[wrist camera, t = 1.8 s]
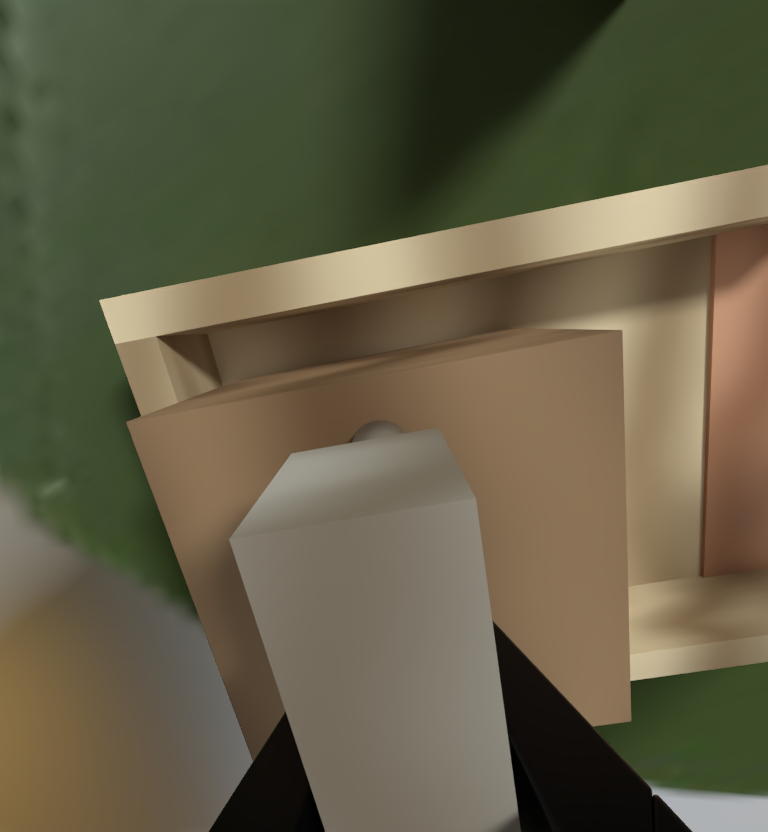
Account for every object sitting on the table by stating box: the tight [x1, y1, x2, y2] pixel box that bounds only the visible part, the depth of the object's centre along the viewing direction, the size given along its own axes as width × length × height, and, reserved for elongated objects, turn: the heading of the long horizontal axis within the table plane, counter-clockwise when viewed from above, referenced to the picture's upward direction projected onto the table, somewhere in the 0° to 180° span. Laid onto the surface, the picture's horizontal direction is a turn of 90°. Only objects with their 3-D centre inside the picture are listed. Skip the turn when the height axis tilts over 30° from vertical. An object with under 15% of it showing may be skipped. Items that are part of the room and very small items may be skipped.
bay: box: [99, 165, 768, 681], centre depth 13 cm, size 22×16×4 cm
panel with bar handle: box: [126, 328, 631, 832], centre depth 9 cm, size 10×10×10 cm
